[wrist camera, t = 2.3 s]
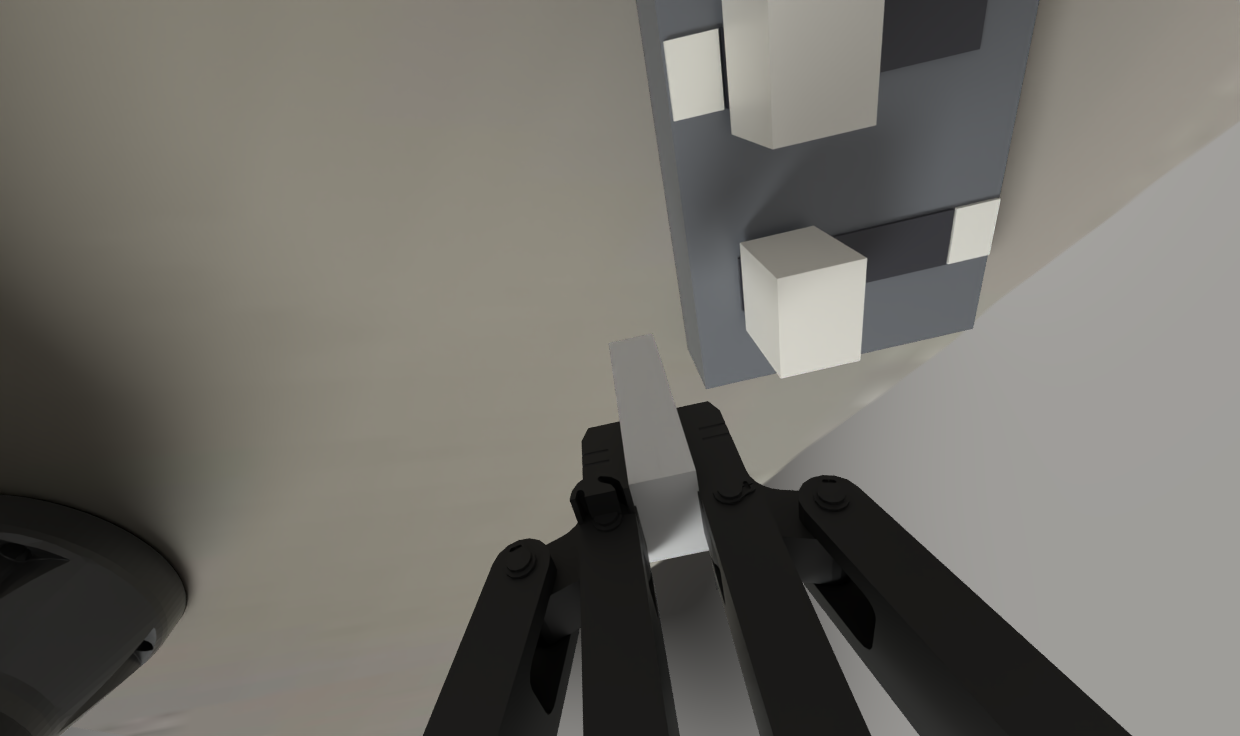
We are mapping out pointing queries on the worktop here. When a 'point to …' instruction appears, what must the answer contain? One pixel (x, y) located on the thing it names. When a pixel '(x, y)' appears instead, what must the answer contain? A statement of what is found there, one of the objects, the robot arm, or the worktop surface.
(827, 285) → the tab
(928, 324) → the switch bank
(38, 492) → the worktop surface
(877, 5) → the tab
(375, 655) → the worktop surface
